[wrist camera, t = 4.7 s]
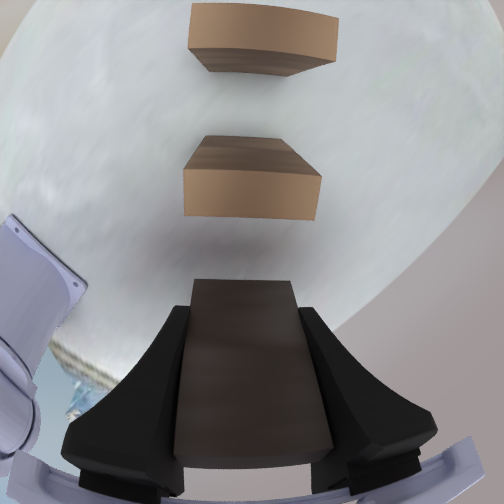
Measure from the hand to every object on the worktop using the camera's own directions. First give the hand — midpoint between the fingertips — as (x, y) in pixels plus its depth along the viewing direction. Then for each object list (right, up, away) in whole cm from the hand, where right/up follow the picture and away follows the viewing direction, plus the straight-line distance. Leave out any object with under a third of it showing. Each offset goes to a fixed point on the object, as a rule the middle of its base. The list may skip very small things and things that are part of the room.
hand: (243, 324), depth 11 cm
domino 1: (0, +14, +1) cm, 14 cm away
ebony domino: (0, +1, +2) cm, 2 cm away
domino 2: (0, +9, +4) cm, 10 cm away
